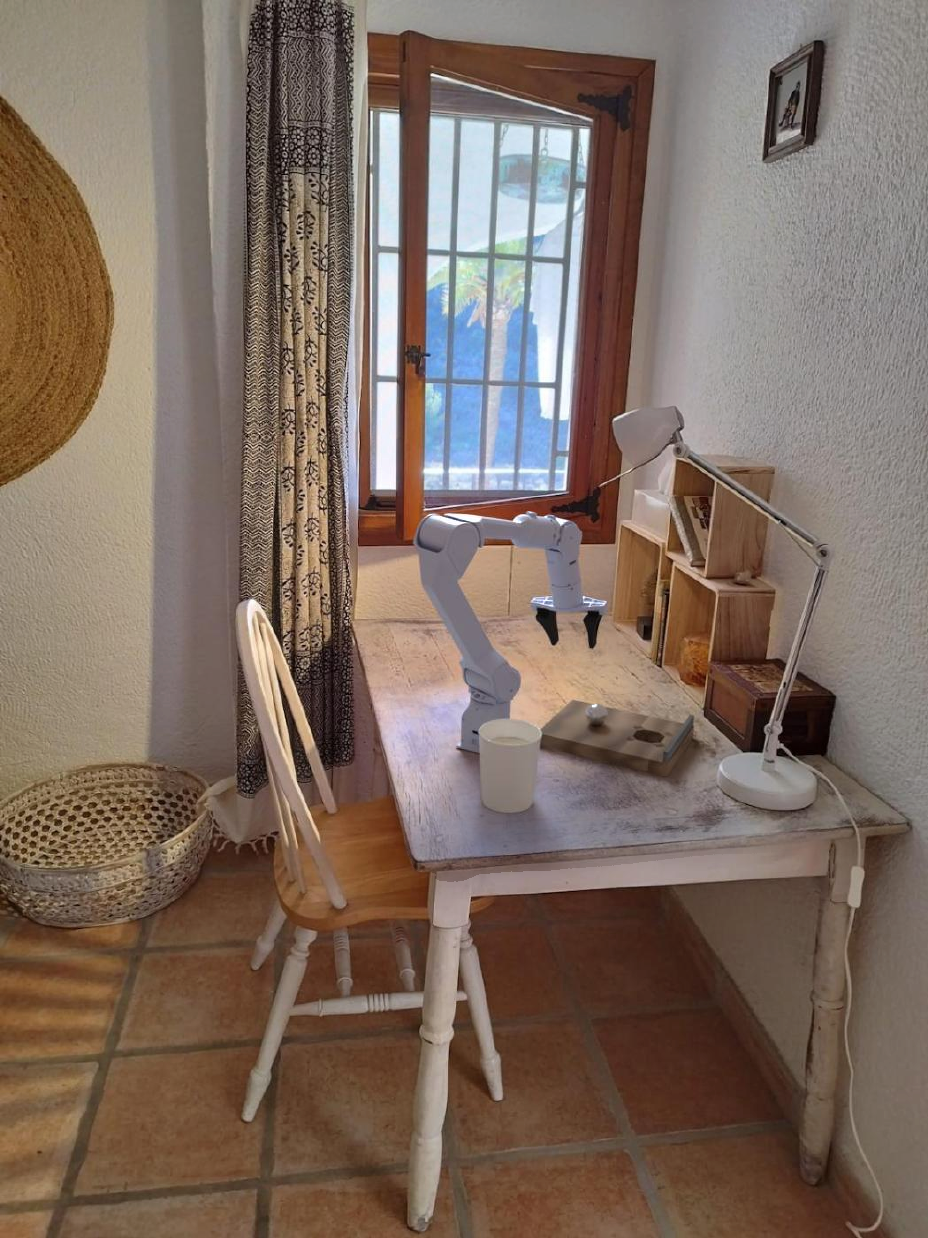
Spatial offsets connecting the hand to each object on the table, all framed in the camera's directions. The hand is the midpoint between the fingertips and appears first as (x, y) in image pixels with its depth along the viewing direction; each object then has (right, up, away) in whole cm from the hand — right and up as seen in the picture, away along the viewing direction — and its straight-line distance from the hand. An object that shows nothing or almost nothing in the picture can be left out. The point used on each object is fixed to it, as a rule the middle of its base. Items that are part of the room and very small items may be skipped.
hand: (574, 644), depth 170 cm
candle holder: (-14, -24, -28) cm, 40 cm away
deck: (+8, -18, -7) cm, 21 cm away
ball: (+3, -13, -6) cm, 14 cm away
